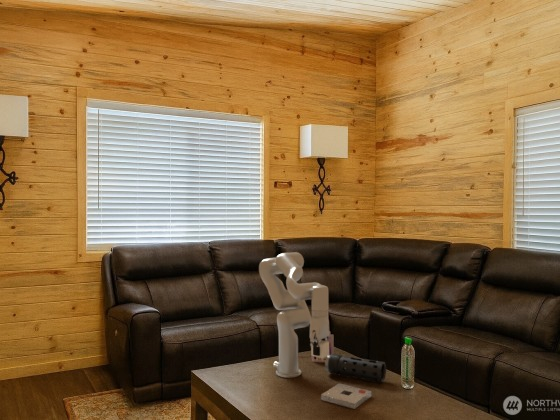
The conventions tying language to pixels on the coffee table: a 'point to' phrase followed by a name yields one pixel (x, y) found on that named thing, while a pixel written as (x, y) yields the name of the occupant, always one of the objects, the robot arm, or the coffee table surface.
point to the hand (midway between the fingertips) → (320, 353)
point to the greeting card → (331, 349)
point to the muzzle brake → (356, 367)
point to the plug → (321, 349)
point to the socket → (346, 396)
